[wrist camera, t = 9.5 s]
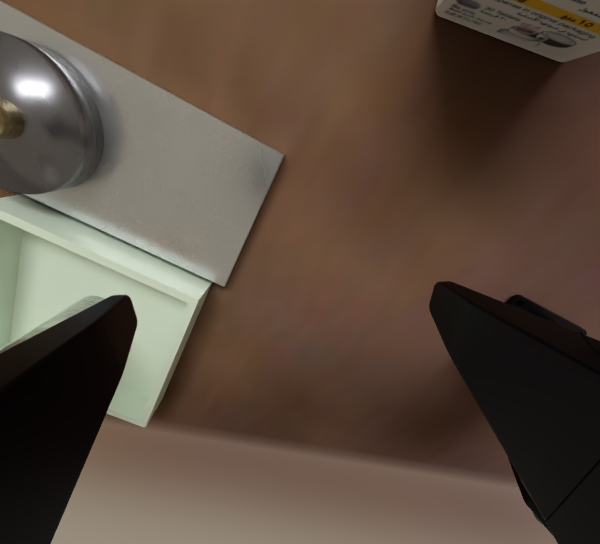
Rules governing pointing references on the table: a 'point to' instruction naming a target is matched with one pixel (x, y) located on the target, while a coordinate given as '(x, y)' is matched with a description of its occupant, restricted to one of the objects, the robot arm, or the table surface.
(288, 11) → the table surface
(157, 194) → the plate
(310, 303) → the table surface
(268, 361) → the table surface
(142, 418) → the tray
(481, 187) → the table surface
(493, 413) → the robot arm
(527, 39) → the container
